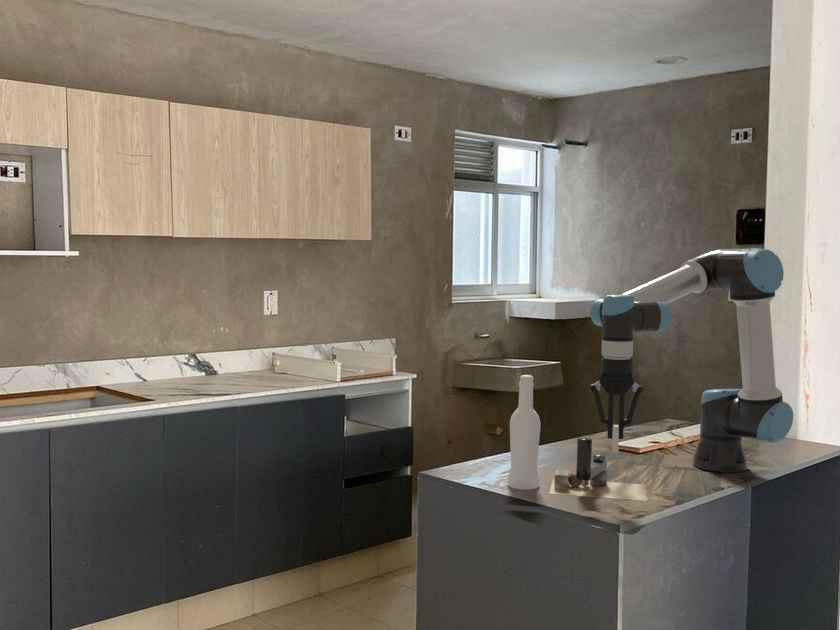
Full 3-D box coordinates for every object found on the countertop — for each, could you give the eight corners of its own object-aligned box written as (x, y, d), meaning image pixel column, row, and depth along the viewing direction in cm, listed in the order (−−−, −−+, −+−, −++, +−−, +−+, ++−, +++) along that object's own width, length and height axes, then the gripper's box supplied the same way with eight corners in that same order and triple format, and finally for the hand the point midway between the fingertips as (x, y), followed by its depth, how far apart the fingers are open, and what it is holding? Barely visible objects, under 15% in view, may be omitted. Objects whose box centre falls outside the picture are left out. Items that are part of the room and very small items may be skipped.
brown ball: (585, 483, 222) (578, 470, 223) (584, 484, 219) (578, 471, 220) (572, 488, 223) (566, 475, 224) (571, 489, 219) (565, 477, 220)
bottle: (505, 485, 226) (508, 373, 224) (535, 485, 226) (538, 373, 224) (510, 494, 217) (514, 377, 216) (542, 494, 218) (545, 377, 216)
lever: (607, 482, 225) (609, 431, 224) (587, 494, 212) (588, 441, 212) (592, 480, 227) (594, 429, 226) (571, 492, 215) (573, 439, 214)
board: (644, 488, 225) (645, 470, 225) (647, 505, 210) (648, 486, 209) (552, 482, 230) (553, 464, 230) (549, 498, 215) (549, 479, 214)
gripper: (643, 356, 213) (641, 449, 215) (590, 354, 216) (588, 446, 217) (645, 360, 206) (642, 456, 207) (589, 358, 208) (588, 453, 210)
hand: (615, 451), depth 212 cm, fingers closed
